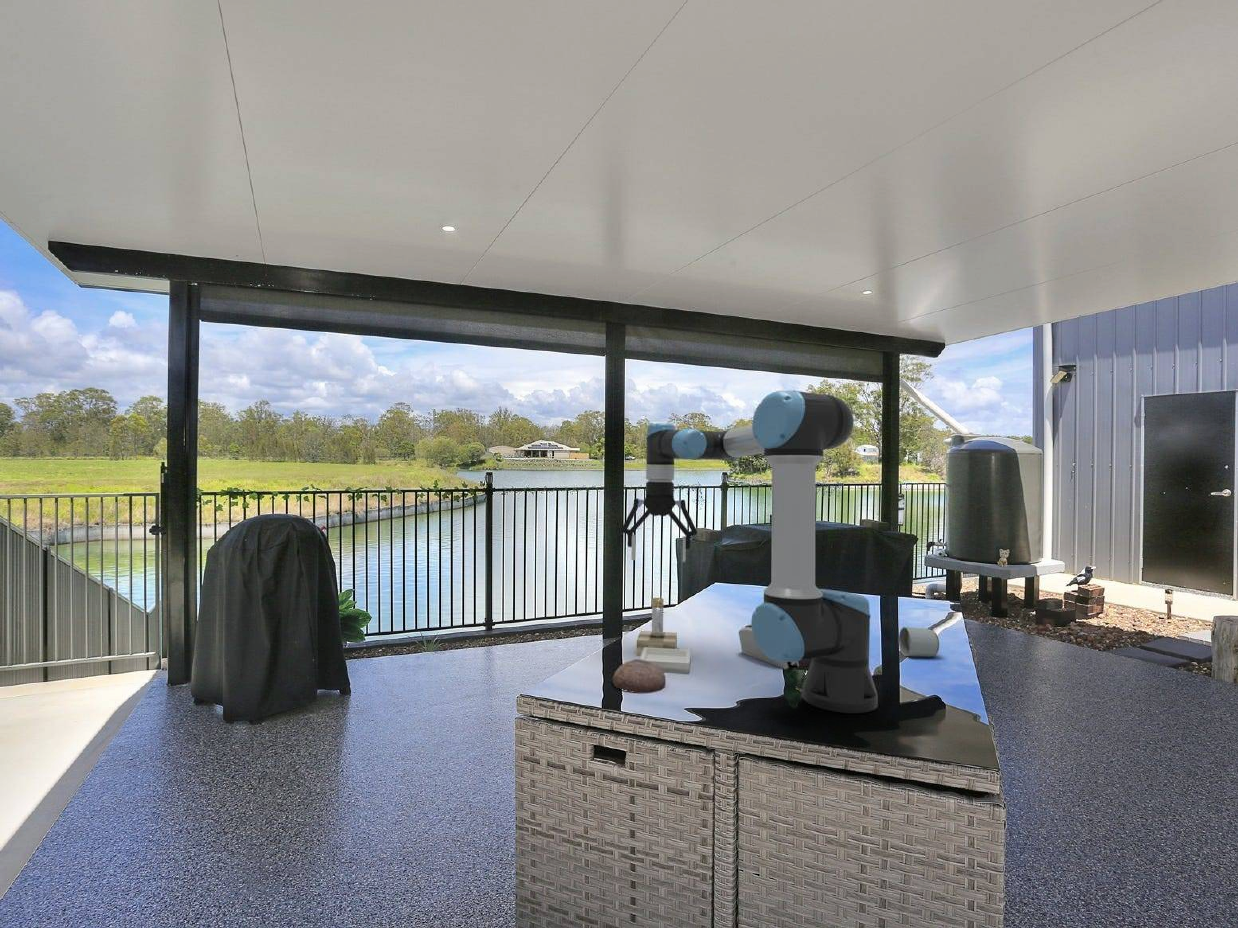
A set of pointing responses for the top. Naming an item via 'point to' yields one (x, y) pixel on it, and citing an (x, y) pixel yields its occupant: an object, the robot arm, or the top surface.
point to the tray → (668, 659)
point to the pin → (657, 617)
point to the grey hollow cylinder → (918, 642)
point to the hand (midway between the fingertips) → (658, 560)
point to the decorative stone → (639, 676)
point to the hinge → (757, 648)
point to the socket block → (656, 641)
